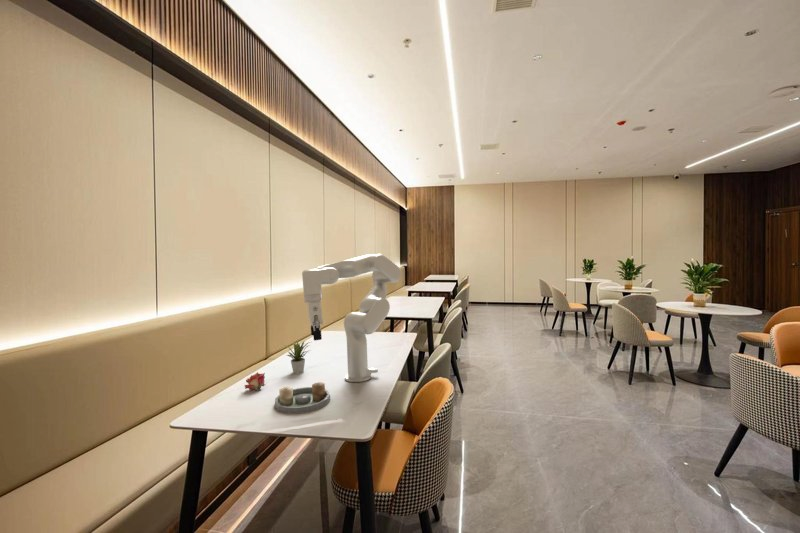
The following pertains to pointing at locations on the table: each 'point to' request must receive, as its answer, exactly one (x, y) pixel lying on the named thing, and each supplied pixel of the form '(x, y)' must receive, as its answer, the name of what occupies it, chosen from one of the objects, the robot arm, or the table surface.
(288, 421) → the table surface
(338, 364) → the table surface
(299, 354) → the house plant
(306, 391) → the groove tray
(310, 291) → the robot arm
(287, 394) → the cream pillar candle
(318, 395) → the walnut bead
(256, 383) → the flower
